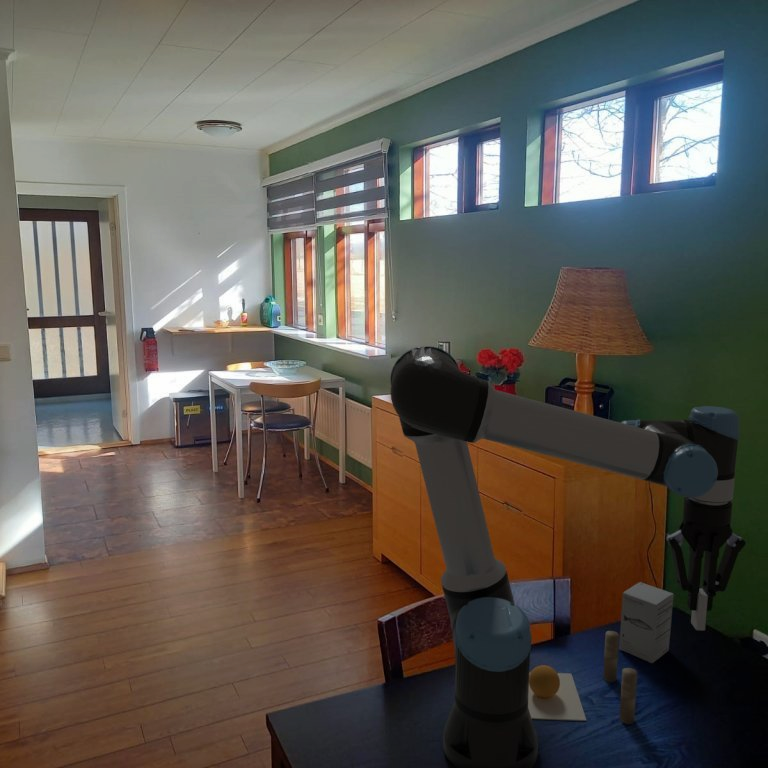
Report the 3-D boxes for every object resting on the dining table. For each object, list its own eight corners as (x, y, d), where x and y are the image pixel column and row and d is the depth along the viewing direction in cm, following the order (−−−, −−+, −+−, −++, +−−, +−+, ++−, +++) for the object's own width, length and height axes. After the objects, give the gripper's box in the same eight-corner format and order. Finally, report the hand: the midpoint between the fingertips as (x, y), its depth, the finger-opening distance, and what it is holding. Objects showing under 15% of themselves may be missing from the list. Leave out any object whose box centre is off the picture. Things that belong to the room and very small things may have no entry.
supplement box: (617, 650, 149) (621, 591, 147) (636, 637, 154) (640, 580, 152) (652, 665, 144) (656, 604, 141) (670, 651, 149) (674, 592, 146)
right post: (621, 723, 126) (624, 675, 124) (617, 715, 128) (620, 667, 127) (635, 724, 126) (638, 676, 124) (632, 715, 128) (635, 668, 127)
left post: (604, 681, 138) (607, 637, 137) (601, 674, 141) (604, 630, 139) (617, 682, 138) (620, 637, 136) (614, 674, 140) (617, 631, 139)
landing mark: (503, 718, 128) (503, 717, 128) (496, 672, 141) (496, 671, 141) (586, 721, 127) (586, 719, 127) (571, 674, 141) (571, 673, 140)
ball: (547, 670, 130) (568, 691, 131) (543, 653, 136) (563, 673, 136) (524, 689, 131) (545, 710, 132) (520, 671, 137) (541, 692, 137)
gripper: (738, 491, 129) (727, 617, 133) (662, 490, 130) (653, 614, 134) (757, 506, 121) (744, 638, 126) (676, 504, 122) (666, 636, 126)
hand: (697, 626), depth 130 cm, fingers closed
